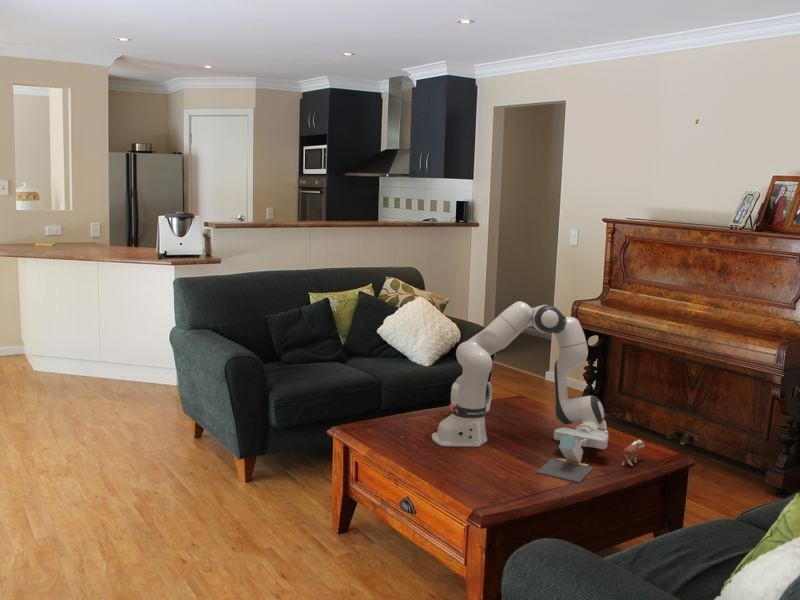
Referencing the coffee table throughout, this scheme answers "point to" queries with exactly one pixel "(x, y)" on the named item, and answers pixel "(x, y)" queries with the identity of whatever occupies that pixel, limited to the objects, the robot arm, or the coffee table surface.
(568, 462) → the oak stop strip
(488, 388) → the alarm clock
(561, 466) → the charcoal rubber mat
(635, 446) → the bull figurine
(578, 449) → the cream block
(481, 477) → the coffee table surface
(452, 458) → the coffee table surface
